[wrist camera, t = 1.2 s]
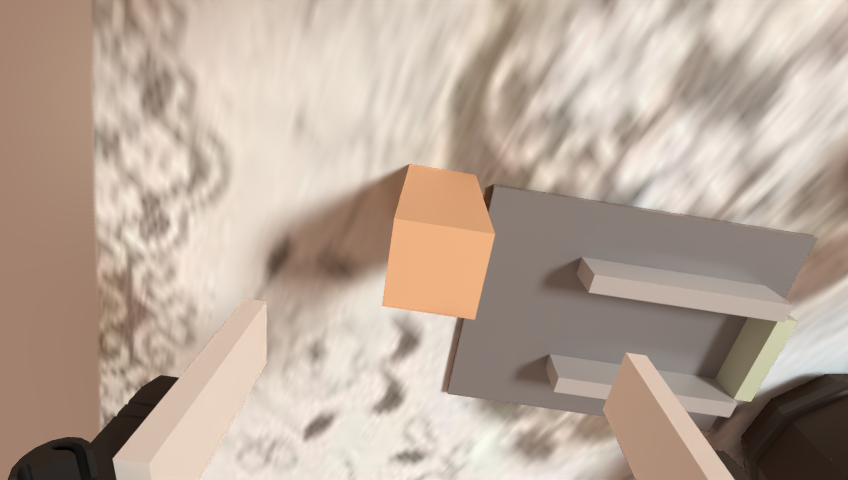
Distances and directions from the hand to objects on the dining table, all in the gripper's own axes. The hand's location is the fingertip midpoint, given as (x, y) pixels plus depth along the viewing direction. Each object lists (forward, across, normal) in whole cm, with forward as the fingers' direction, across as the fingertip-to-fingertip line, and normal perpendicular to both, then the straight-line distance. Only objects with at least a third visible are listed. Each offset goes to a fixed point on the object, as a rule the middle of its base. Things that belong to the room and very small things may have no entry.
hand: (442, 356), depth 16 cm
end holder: (+19, +16, -8) cm, 26 cm away
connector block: (+19, 0, 0) cm, 19 cm away
